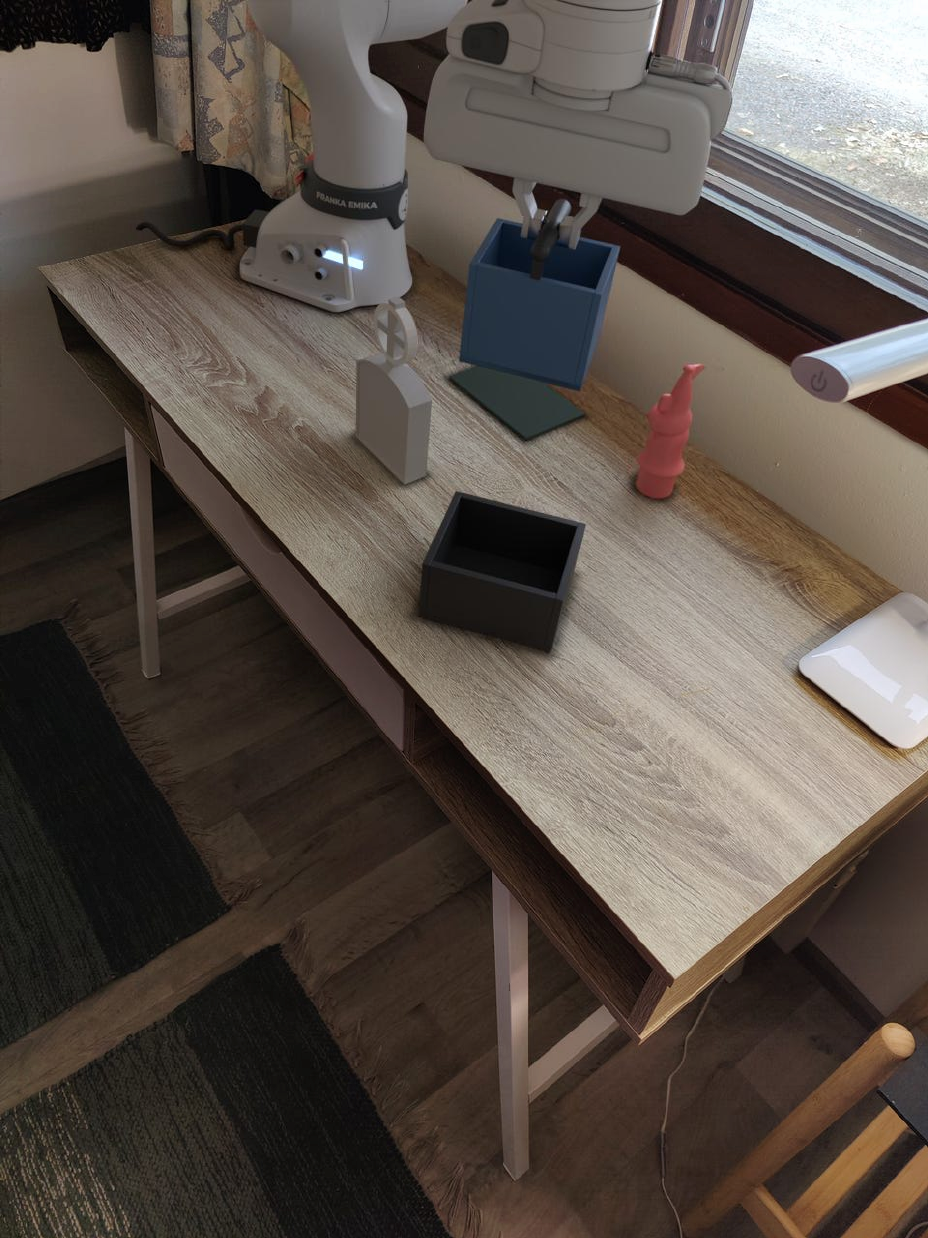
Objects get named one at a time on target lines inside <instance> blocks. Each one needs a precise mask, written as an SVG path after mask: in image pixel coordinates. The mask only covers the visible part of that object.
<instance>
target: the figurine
mask: <svg viewBox="0 0 928 1238" xmlns="http://www.w3.org/2000/svg"><path fill="white" fill-rule="evenodd" d="M705 369H706V366H705V365H703V364H702V363H698V362H697V363H694V364H690V363H688V364H685V365H683V368H682V370H683V373H682V374H681V375H680V376H679V378H678V379H677V381H676V382H675V384H674V386H673V388H672V389H671V391H670V392H667V393H663V394H662V395H661V396H660V397H659V400H658V402H656V403H655V404H654V405H653V406H652V407H651V408H650V409H649V412H648V414H647V422H648V425H649V426H650V428H651V431H650V432H649V435H648V437H647V438H646V442H645V445H644V448H643V449H642V450H641V451H640V452H639V454H638V456H637V463H638V465H639V470H638V473H637V477H636V480H635V486H636V489H637V490H638V491H639V492H640V493H641V494H643V495H644V496H647V497H649V498H652V499H664V498H667V497H669V496H671V494H672V492H673V489H674V486H675V484H676V480H677V477H678V476H680V475H681V474H682V473H684V471H685V467H686V465H685V461H684V459H683V452H684V450H685V447H686V445H687V443H688V440H689V437H690V428H691V426H692V422H693V413H692V410H691V409H690V408H691V404H692V400H693V394H694V388H693V387H694V386H693V381H694V380H695V379H696V378H697V376H699V374H700V373H702V371H704V370H705Z"/></svg>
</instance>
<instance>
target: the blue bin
mask: <svg viewBox="0 0 928 1238" xmlns="http://www.w3.org/2000/svg"><path fill="white" fill-rule="evenodd" d="M571 210H572V206H571V203H570V202H569V201H568V200H567V199H566V198H559V199H557V200H556V201H555V202H554V203H553V206H552V207H551V210H550V211H549V213H548V214H547V217H546V221H545V223H544V225H543V226H542V228H541V230H540V232H539V234H538V236H537V238H536V240H531V239H526V238H523V237H521V231H522V224H523V222H522V223H521V222H516V221H512V220H508V219H503V218H501V217H496V219H495V221H494V222H493V224H492V226H491V227H490V229H489V231H488V232H487V234H486V236H485V237H484V239H483V241H482V242H481V244H480V246H479V248H478V249H477V251H476V252H475V253H474V256H473V258H471V260H470V262H469V264H468V265H469V266H468V275H467V284H466V293H465V301H464V302H465V303H464V310H463V319H462V329H461V330H462V331H461V339H460V347H459V357H458V362H460V363H464V364H468V365H472V366H474V367H476V366H479V367H483V368H487V369H491V370H495V371H500V372H504V373H508V374H512V375H516V376H520V377H524V378H528V379H532V380H536V381H540V382H544V383H545V384H547V385H552V386H556V387H560V388H564V389H567V390H572V391H576V392H581V391H582V388H583V385H584V382H585V380H586V377H587V374H588V371H589V368H590V367H591V364H592V363H591V362H592V360H593V358H594V354H595V352H596V349H597V345H598V344H599V340H600V337H601V333H602V327H603V324H604V319H605V315H606V311H607V306H608V303H609V297H610V293H611V289H612V285H613V281H614V276H615V272H616V268H617V262H618V258H619V253H620V249H621V245H617V244H614V243H613V244H612V243H608V242H603V241H599V240H595V239H590V238H587V237H582V236H580V237H579V241H578V244H577V246H576V248H575V250H574V249H569V248H565V247H561V246H557V245H556V243H557V238H558V236H559V234H558V231H559V226H560V223H561V221H562V220H563V217H564V215H567V216H570V214H571V212H572V211H571Z"/></svg>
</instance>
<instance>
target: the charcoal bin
mask: <svg viewBox="0 0 928 1238" xmlns="http://www.w3.org/2000/svg"><path fill="white" fill-rule="evenodd" d="M586 525H587V523H584V522H580V521H578V520H577V521H576V520H573V519H569V518H565V517H561V516H557V515H553V514H549V513H545V512H542V511H537V510H532V509H530V508H526V507H521V506H517V505H513V504H509V503H505V502H502V501H498V500H493V499H490V498H485V497H482V496H478V495H474V494H471V493H466V492H461V491H457V490H455V492H454V494H453V496H452V498H451V500H450V503H449V505H448V506H447V509H446V511H445V513H444V516H443V517H442V520H441V522H440V524H439V527H438V528H437V531H436V533H435V535H434V538H433V540H432V542H431V544H430V546H429V548H428V550H427V552H426V555H425V556H424V560H423V561H422V563H421V574H420V575H421V576H420V587H419V600H418V612H417V617H418V618H422V619H424V620H428V621H432V622H436V623H439V624H444V625H448V626H451V627H455V628H459V629H462V630H464V631H465V630H466V631H469V632H473V633H476V634H479V635H484V636H487V637H491V638H495V639H498V640H502V641H506V642H510V643H513V644H517V645H521V646H524V647H527V648H532V649H536V650H538V651H544V652H546V653H552V649H553V646H554V643H555V639H556V636H557V632H558V629H559V626H560V622H561V619H562V615H563V611H564V608H565V605H566V602H567V599H568V596H569V591H570V588H571V585H572V581H573V578H574V573H575V570H576V566H577V562H578V558H579V554H580V549H581V546H582V541H583V539H584V535H585V529H586Z"/></svg>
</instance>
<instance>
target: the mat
mask: <svg viewBox="0 0 928 1238" xmlns="http://www.w3.org/2000/svg"><path fill="white" fill-rule="evenodd" d="M448 380H450V381H451V382H452V383H454V384H455V385H456V386H457V387H458V388H459V389H461V390H462V391H463V392H464V393H466V394H467V395H468V396H469V397H471V398H472V399H473V400H475V402H477V403H478V404H479V405H481V406H482V407H483V408H484V409H485V410H487V411H488V412H489V413H491V414H492V415H493V416H494V417H496V419H498V420H499V421H500V422H502V423H503V424H504V425H505V426H507V427H508V428H509V429H510V430H511V431H512V432H514V433H515V434H516V435H518V436H519V437H520V438H521V439H522V440H523V441H525V442H526V441H529V440H532V439H533V438H536V437H539V436H541V435H543V434H546V433H548V432H551V431H553V430H555V429H557V428H560V427H562V426H565V425H567V424H569V423H572V422H574V421H577V420H579V419H582V418H584V417H585V414H586V413H585V412H584V411H582V410H581V409H580V408H579V407H577V406H576V405H575V404H573V403H572V402H570V401H569V400H568V399H566V398H565V397H564V396H563V395H561V394H560V393H558V392H557V391H556V390H554V389H553V388H552V387H551V386H549V384H547V383H544V382H540V381H536V380H532V379H528V378H524V377H520V376H516V375H512V374H508V373H504V372H500V371H495V370H491V369H487V368H483V367H479V366H473V367H471V368H467V369H465V370H462V371H459V372H457V373H454V374H452V375H449V376H448Z"/></svg>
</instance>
